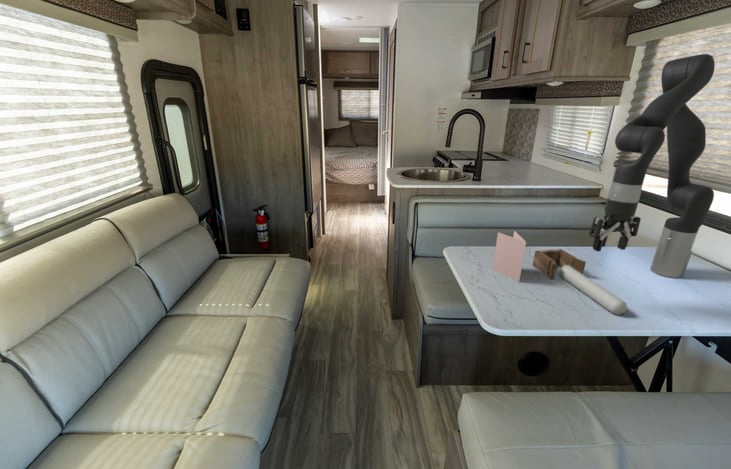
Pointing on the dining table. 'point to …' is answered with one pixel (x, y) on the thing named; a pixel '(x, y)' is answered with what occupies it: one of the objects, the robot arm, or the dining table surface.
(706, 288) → the dining table surface
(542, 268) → the socket block
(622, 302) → the tube
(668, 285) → the dining table surface
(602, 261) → the dining table surface
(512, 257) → the greeting card
